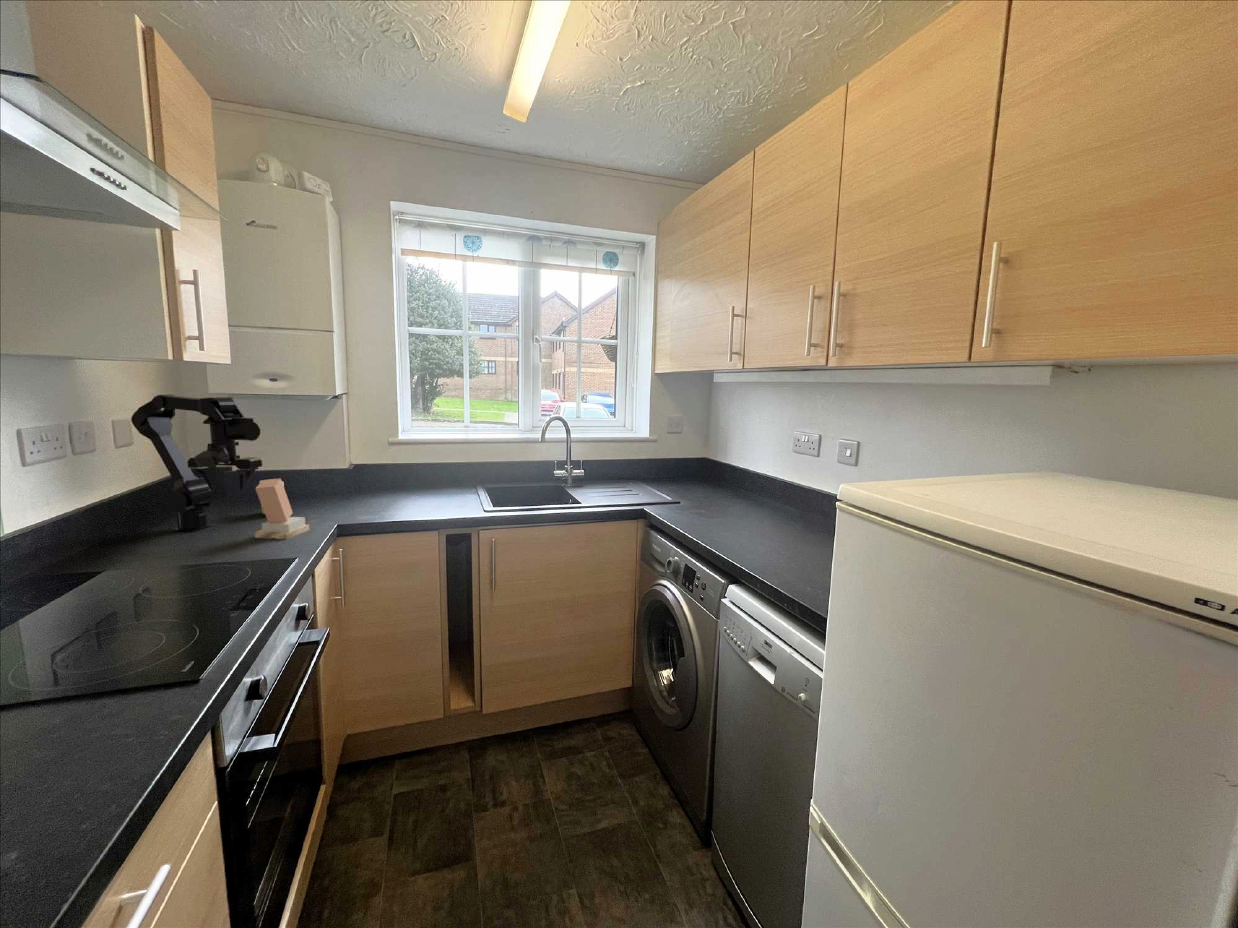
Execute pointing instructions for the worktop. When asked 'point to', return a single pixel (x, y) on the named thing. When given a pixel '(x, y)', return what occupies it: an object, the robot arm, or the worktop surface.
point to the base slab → (281, 533)
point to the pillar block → (274, 500)
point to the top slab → (284, 525)
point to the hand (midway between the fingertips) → (227, 490)
